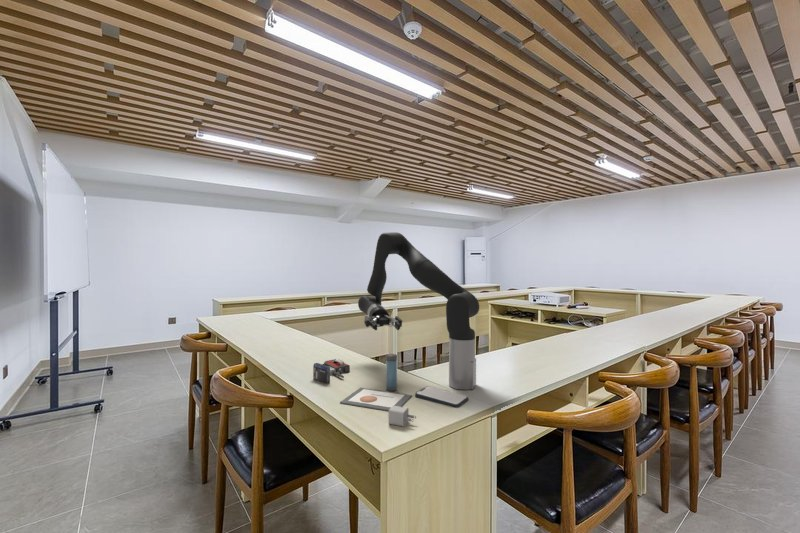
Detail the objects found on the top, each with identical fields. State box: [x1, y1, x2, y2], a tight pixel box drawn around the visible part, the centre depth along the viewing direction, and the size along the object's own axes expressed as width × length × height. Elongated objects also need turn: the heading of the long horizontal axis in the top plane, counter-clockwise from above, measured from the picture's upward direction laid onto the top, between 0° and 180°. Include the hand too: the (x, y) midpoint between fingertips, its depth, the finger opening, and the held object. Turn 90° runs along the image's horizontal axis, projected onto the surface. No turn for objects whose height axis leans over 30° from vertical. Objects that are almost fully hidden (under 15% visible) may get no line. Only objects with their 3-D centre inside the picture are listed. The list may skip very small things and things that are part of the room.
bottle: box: [385, 353, 398, 392], centre depth 124 cm, size 4×4×12 cm
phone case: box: [414, 386, 469, 409], centre depth 116 cm, size 9×2×16 cm
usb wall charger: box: [387, 406, 417, 427], centre depth 97 cm, size 4×7×4 cm, turn 67°
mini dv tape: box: [312, 362, 331, 385], centre depth 133 cm, size 8×2×6 cm, turn 49°
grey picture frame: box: [339, 387, 413, 412], centre depth 115 cm, size 19×14×1 cm
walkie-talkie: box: [321, 358, 351, 379], centre depth 144 cm, size 9×4×20 cm
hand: (387, 327), depth 132 cm, fingers open, 8 cm apart
